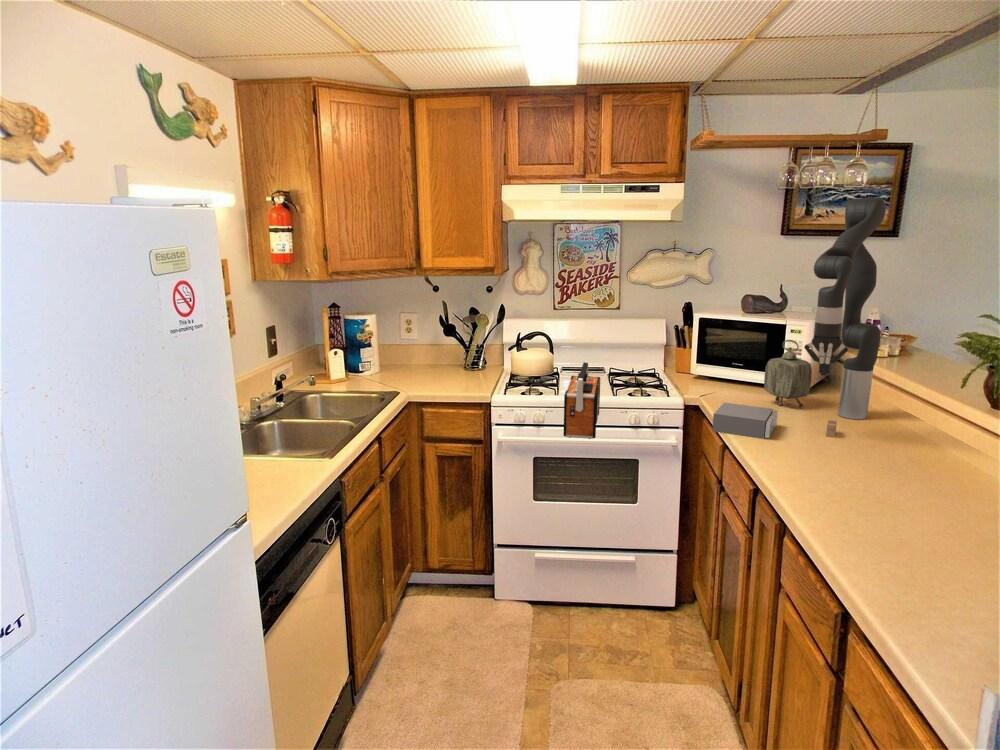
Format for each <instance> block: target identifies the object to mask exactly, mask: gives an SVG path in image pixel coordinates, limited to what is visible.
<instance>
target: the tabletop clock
mask: <svg viewBox="0 0 1000 750" xmlns="http://www.w3.org/2000/svg"><path fill="white" fill-rule="evenodd" d="M787 342H789V343H790V342H791V343H793V344H795V345H796V349H792V347H788V348H787V347H786V346H785V344H786V343H787ZM782 348H783V349H784V350H785V352H784V353H783V354H782V356H781V357H777V358H776V357H775V358H770V359H769V360H768V361H767V362H766V365H765V369H764V378H763V379H764V380H763V381H764V383H763V386H764V391H765V392H767V393H768V394H770V395H772V396H775V399H774V400H775V401H777V402H778V401H779V402H778V403H777V405H778V406H779V407H782V406H784V405H783V399H786V400H792V399H793V400H796V402H797V403H798V407H799V408H801V409H802V408H803V407H804V404H803V403H801V402H800V399H799V398H804V397H805V398H806V397H808V396H809V393H810V391H811V385H812V376H813V370H812V369H813V368H812V363H810V362H809V361H807V360H806V359H803V358H798V357H797V355H796V353H795V352H796V351H798V350H799V344H798V342H796V340H794V339H793V340H792V339H786V340H784V341H783V342H782Z"/></svg>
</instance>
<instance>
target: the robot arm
mask: <svg viewBox="0 0 1000 750" xmlns="http://www.w3.org/2000/svg"><path fill="white" fill-rule="evenodd" d="M886 209H887V206H886V202H885V200H884V199H883V198H881V197H876V196H875V197H864V198H862V197H861V198H853V199H849V200H848V201H847V203H846V206H845V210H844V211H845V212H844V222H845V223H844V225H845V231H843V232H842V233H841V234H840V235H839V236H838V237H837V239H836V240H835V242H834V243H833V244H832V246H831V247H829V248H828V249H827V250H826V251H824V252H823V253H822V254H820V255H819V257H818V258H817V259H816V260H815V262H814V266H813V273H814V275H815V277H817V279H820V280H821V279H823V280H836V282H835V284H834V285H831V286H830V285H829V286H823V287H821V288H819V291H818V295H817V304H816V305H817V307H816V312H815V317H814V320H815V321H814V330H813V338H812V339H811V341H810V342H809V343H806V344H805V345H804V347H803V348H804V350H805V351H806V352H807V354H808V355H809V356H810V357H811V359H812V360H813V361H814V362H817V363H818V365H819V369H818V372H819V373H818V374H820V376H827V375H828V374H829V373H830V366H831V364H834V363H837V362H838V361H839V360H840V359H841V358H842V357H843V356H844V355H845V354H846V353H847V352H848V351H849V349H854V350H858V352H857V355H856V356H855V357H849V358H846V359H844V361H843V369H842V377H841V383H840V384H841V385H840V391H839V393H840V394H839V400H838V401H839V403H838V409H837V415H838V416H839V417H841V418H846V419H851V420H865V419H867V418H868V413H869V412H868V411H869V404H870V399H871V398H870V396H871V391H872V390H871V389H872V382H873V375H874V374H873V373H874V367H875V365H876V362H877V359H878V355H879V354H878V353H879V349H880V346H881V345H880V344H881V336H882V335H881V334H882V332H881V329H880V327H879V326H877V325H876V324H871V323H865V322H862V321H861V316H862V310H863V307H864V305H865V303H866V302H867V300H868V299H869V298H870V297H871V295H872V293H873V292H874V290H875V288H876V286H877V276H878V275H877V269H878V268H877V263H876V261H875V260H874V258H873V256H872V254H871V253H870V252H869V251H868V249H867V248H866V246H865V244H864V242H865V240H866V239H868V238H869V236H871V235H872V233H874V232H875V230H876V229H878V227H879V226H880V225H881V224H882V222H883V221H884V219H885V217H886V213H887V212H886V211H887V210H886ZM844 296H845V297H844ZM843 306H844V309H843ZM814 348H815V349H816V351H817V352H818V354H819V355H817V354H816V353H815V351H814ZM838 349H839V352H838V353H837V354H836V355H834V356H833V357H832V355H833V353H834V352H836V350H838ZM825 353H826V358H825Z"/></svg>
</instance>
